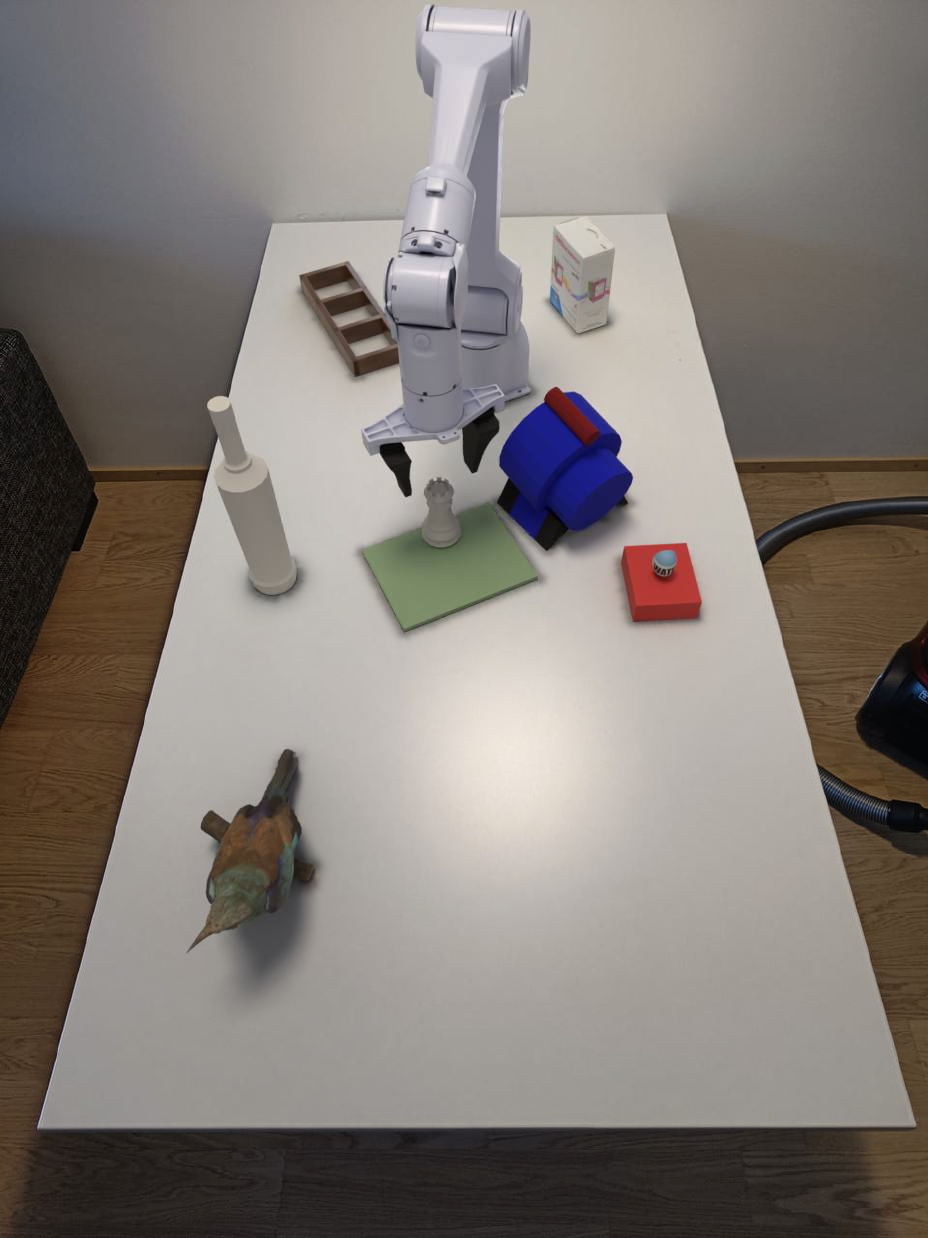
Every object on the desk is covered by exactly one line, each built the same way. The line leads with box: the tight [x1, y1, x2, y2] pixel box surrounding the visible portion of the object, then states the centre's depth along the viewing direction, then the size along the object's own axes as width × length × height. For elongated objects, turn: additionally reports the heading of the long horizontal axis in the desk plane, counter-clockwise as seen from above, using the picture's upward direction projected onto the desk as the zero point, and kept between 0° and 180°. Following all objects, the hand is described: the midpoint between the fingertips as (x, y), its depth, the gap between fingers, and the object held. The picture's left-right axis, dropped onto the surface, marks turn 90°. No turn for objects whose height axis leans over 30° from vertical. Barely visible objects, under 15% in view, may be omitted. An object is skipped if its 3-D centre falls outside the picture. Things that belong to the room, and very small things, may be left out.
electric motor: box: [496, 386, 634, 551], centre depth 97 cm, size 12×12×15 cm
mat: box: [361, 502, 539, 633], centre depth 98 cm, size 16×12×1 cm
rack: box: [298, 260, 400, 378], centre depth 122 cm, size 8×21×2 cm, turn 25°
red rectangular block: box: [620, 542, 703, 622], centre depth 93 cm, size 8×7×6 cm
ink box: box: [549, 215, 616, 334], centre depth 119 cm, size 9×5×12 cm, turn 25°
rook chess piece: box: [421, 476, 461, 547], centre depth 97 cm, size 4×4×8 cm
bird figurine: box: [186, 748, 315, 954], centre depth 75 cm, size 13×10×20 cm
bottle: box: [206, 395, 298, 596], centre depth 87 cm, size 5×5×25 cm
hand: (438, 478), depth 93 cm, fingers open, 7 cm apart
